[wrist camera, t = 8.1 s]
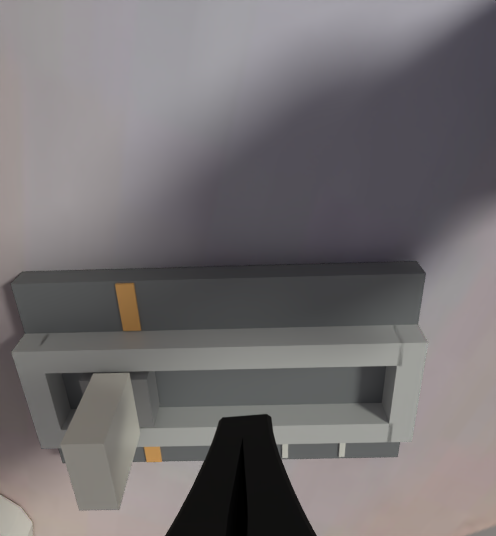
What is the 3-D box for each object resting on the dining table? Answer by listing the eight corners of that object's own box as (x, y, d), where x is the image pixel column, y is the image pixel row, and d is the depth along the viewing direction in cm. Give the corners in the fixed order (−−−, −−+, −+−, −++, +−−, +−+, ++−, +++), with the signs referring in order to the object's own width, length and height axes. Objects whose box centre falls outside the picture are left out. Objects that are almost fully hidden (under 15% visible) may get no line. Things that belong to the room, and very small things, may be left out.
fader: (151, 351, 22) (123, 443, 17) (160, 410, 24) (136, 509, 19) (87, 353, 22) (41, 445, 17) (101, 411, 24) (61, 510, 19)
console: (417, 261, 21) (437, 289, 19) (391, 439, 26) (405, 479, 24) (22, 271, 22) (-5, 300, 19) (70, 445, 26) (53, 485, 24)
